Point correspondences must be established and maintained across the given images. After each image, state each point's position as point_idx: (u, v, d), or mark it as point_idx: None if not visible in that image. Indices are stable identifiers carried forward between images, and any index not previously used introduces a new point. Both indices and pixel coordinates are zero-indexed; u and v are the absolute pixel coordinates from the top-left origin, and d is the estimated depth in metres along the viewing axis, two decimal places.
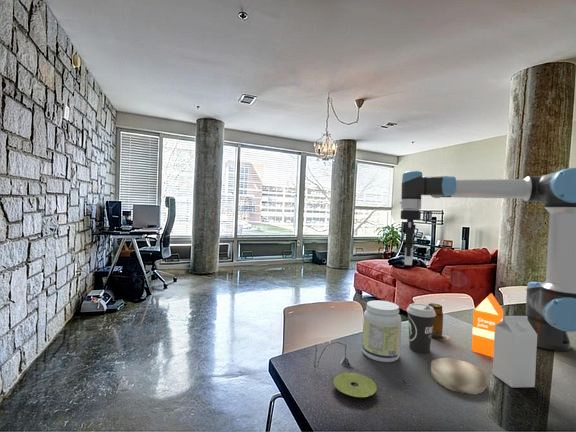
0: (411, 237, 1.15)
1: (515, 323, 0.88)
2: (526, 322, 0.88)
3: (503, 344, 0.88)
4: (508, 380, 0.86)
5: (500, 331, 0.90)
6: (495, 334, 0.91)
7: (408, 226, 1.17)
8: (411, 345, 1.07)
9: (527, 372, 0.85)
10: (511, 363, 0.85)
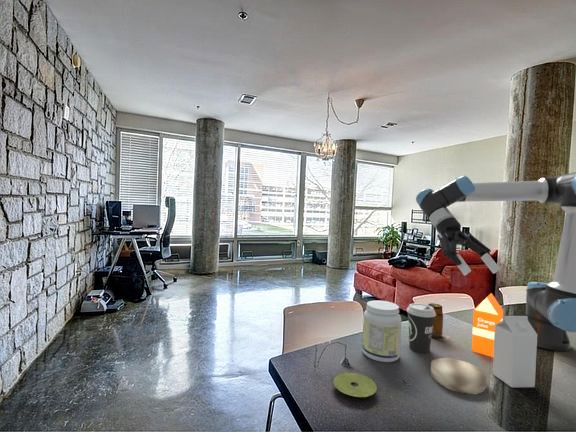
0: (445, 244, 1.01)
1: (515, 323, 0.88)
2: (526, 322, 0.88)
3: (503, 344, 0.88)
4: (508, 380, 0.86)
5: (500, 331, 0.89)
6: (495, 334, 0.91)
7: (440, 237, 1.05)
8: (411, 345, 1.07)
9: (527, 372, 0.85)
10: (511, 363, 0.85)
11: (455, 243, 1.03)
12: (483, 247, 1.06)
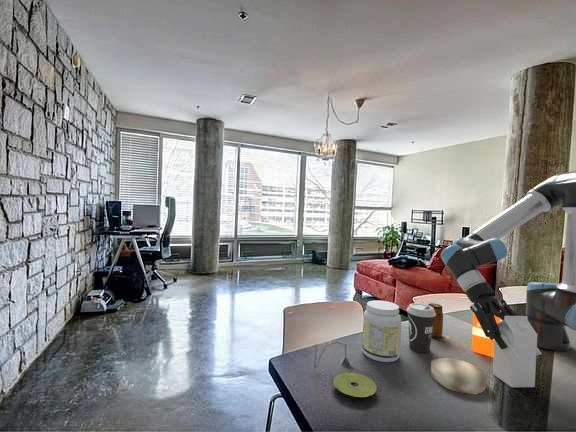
0: (485, 322, 0.89)
1: (515, 323, 0.88)
2: (526, 322, 0.88)
3: None
4: (508, 379, 0.86)
5: (500, 331, 0.90)
6: None
7: (474, 310, 0.93)
8: (411, 345, 1.07)
9: (527, 372, 0.85)
10: (511, 363, 0.85)
11: (494, 318, 0.91)
12: None
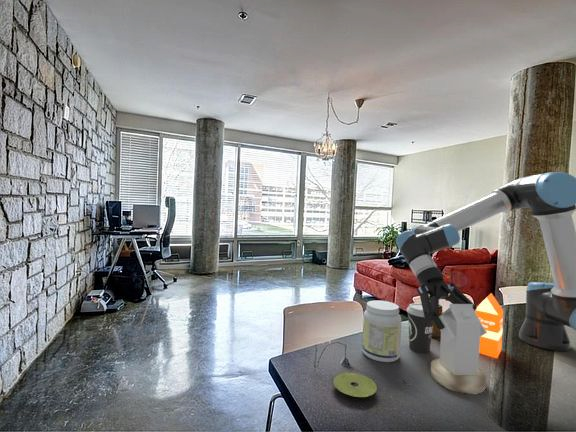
0: (426, 303, 0.89)
1: (460, 311, 0.87)
2: (471, 310, 0.88)
3: None
4: (452, 368, 0.86)
5: (446, 319, 0.89)
6: None
7: (420, 292, 0.93)
8: (411, 345, 1.07)
9: (470, 359, 0.85)
10: (454, 351, 0.85)
11: (437, 300, 0.90)
12: (468, 303, 0.94)
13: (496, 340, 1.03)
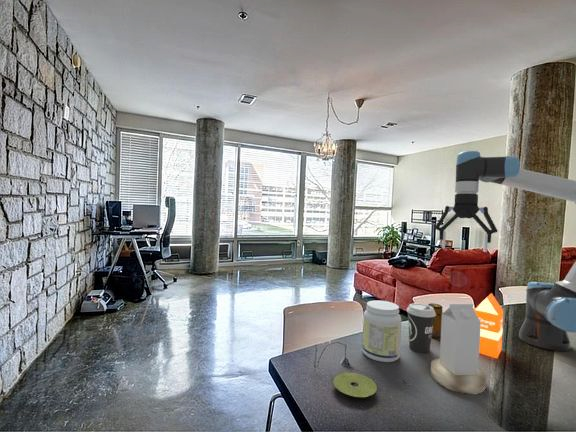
0: (439, 220, 1.17)
1: (460, 311, 0.87)
2: (471, 310, 0.88)
3: (448, 332, 0.88)
4: (452, 368, 0.86)
5: (446, 319, 0.89)
6: (442, 323, 0.91)
7: None
8: (411, 345, 1.07)
9: (470, 359, 0.85)
10: (454, 351, 0.85)
11: (452, 220, 1.15)
12: (491, 226, 1.10)
13: (496, 340, 1.03)
